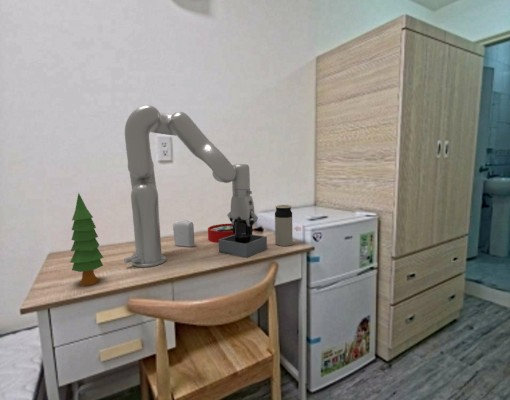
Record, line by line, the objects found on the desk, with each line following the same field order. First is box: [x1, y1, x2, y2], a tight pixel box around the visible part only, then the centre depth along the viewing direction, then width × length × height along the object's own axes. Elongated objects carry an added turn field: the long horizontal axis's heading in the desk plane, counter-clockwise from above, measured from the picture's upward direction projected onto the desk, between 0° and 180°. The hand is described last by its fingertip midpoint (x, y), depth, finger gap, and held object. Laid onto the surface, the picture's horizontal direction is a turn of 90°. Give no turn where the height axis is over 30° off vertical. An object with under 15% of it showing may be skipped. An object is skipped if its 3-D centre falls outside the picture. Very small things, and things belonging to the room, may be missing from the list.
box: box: [217, 234, 268, 259], centre depth 131 cm, size 15×15×6 cm
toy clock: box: [207, 223, 235, 244], centre depth 154 cm, size 20×6×20 cm
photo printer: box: [172, 219, 195, 248], centre depth 141 cm, size 10×4×12 cm, turn 63°
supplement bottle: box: [235, 216, 251, 244], centre depth 130 cm, size 7×7×12 cm
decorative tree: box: [69, 192, 104, 287], centre depth 99 cm, size 10×9×30 cm
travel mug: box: [274, 204, 294, 247], centre depth 139 cm, size 8×8×18 cm
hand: (242, 233), depth 131 cm, fingers closed on supplement bottle, 6 cm apart
